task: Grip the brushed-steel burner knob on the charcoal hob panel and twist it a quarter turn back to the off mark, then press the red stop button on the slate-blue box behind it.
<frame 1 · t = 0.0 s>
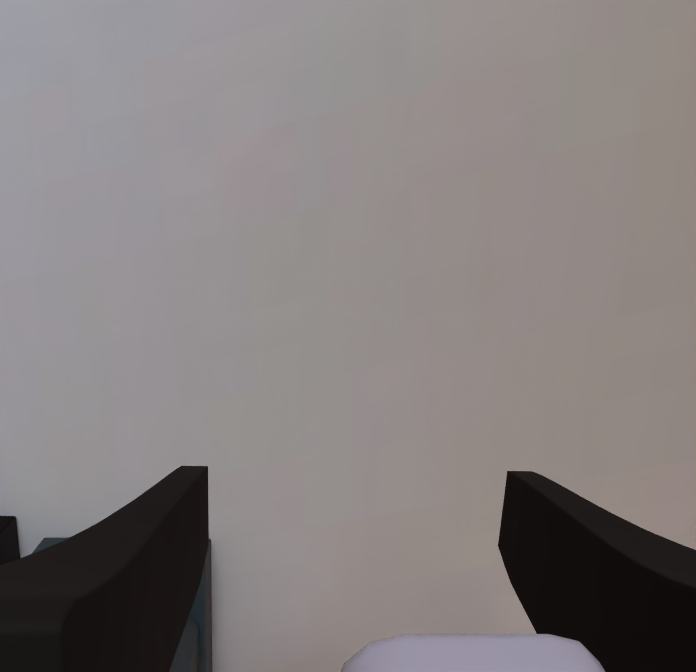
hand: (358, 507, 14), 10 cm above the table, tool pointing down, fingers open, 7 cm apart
button box: (133, 645, 26), on the table
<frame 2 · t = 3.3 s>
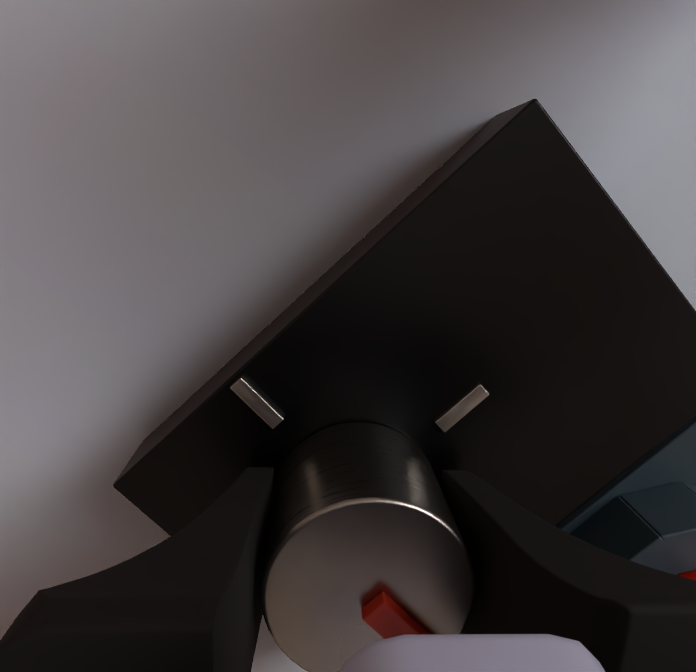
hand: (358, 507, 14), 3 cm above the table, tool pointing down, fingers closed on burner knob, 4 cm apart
burner knob: (362, 544, 12), point 5 cm above the table, hinge at -90.1°, touching gripper
hob panel: (413, 394, 16), on the table
button box: (592, 584, 18), on the table
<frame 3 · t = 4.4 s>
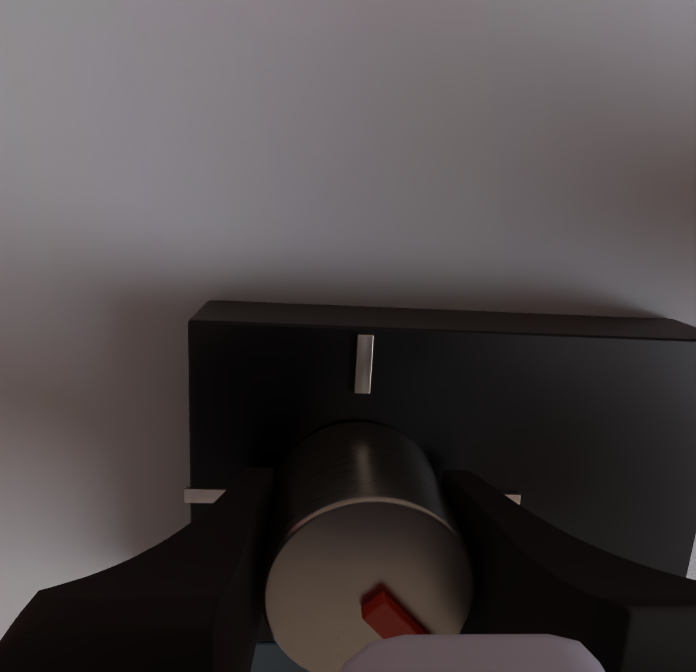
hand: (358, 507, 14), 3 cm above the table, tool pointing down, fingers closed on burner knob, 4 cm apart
burner knob: (362, 543, 12), point 5 cm above the table, hinge at -46.4°, touching gripper
hob panel: (433, 451, 17), on the table
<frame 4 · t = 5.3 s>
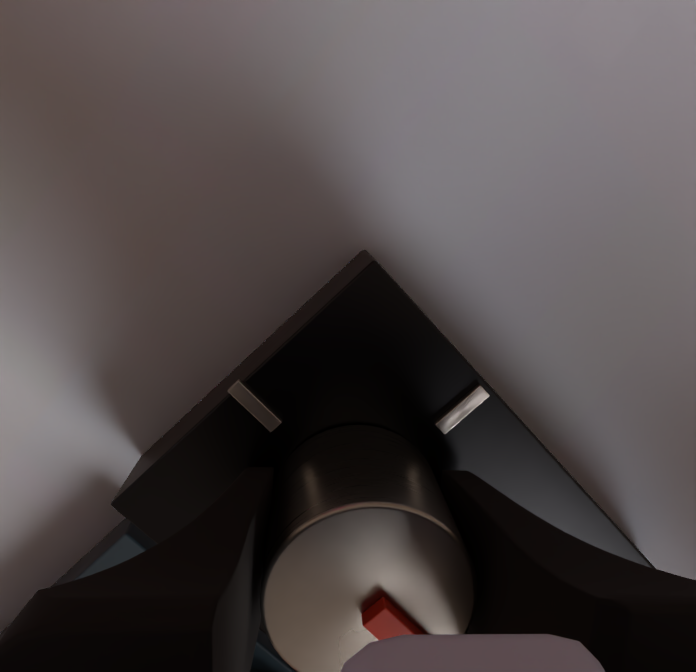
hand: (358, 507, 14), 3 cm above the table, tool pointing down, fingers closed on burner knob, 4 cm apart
burner knob: (362, 548, 12), point 5 cm above the table, hinge at -0.4°, touching gripper
hob panel: (405, 508, 17), on the table
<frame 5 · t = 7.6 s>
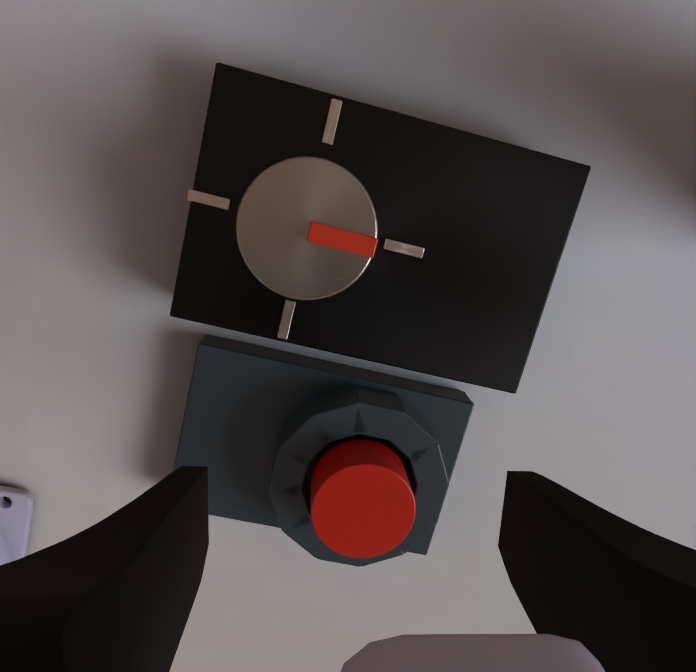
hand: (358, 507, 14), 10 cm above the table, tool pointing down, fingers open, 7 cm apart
stop button: (361, 497, 20), point 4 cm above the table, slide at 0.1 cm
burner knob: (307, 227, 18), point 5 cm above the table, hinge at -0.3°
hob panel: (371, 236, 22), on the table
button box: (319, 440, 24), on the table
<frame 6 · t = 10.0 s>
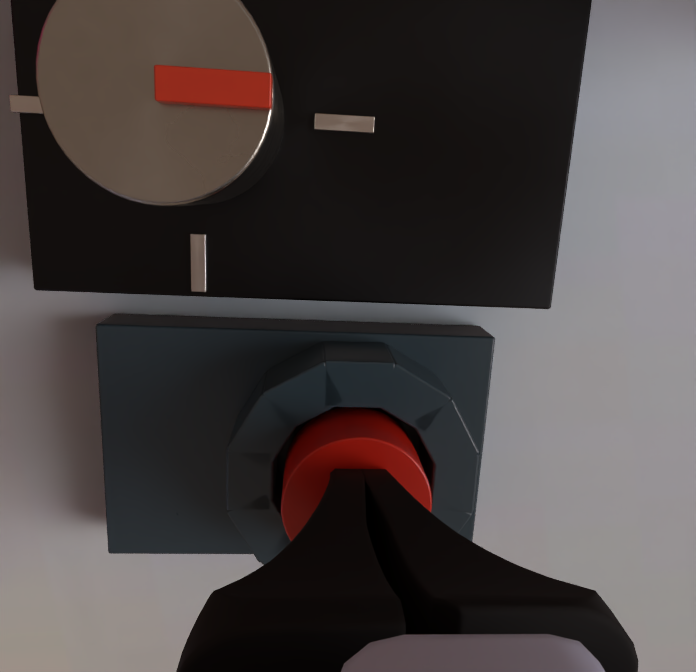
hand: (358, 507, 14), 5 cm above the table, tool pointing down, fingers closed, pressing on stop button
stop button: (354, 486, 14), point 4 cm above the table, slide at -0.3 cm, touching gripper
burner knob: (178, 101, 11), point 5 cm above the table, hinge at -0.3°
hob panel: (306, 133, 16), on the table
button box: (298, 428, 18), on the table
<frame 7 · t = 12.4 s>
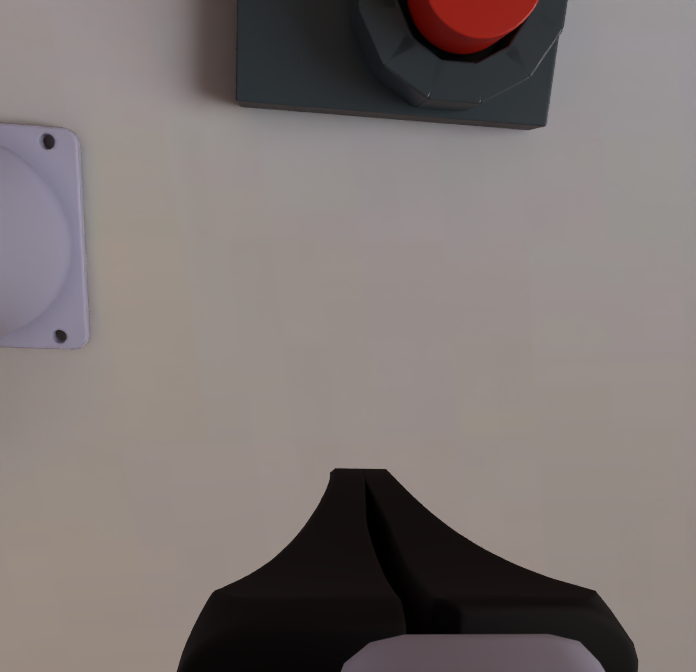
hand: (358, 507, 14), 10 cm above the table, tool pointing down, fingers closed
button box: (396, 15, 20), on the table
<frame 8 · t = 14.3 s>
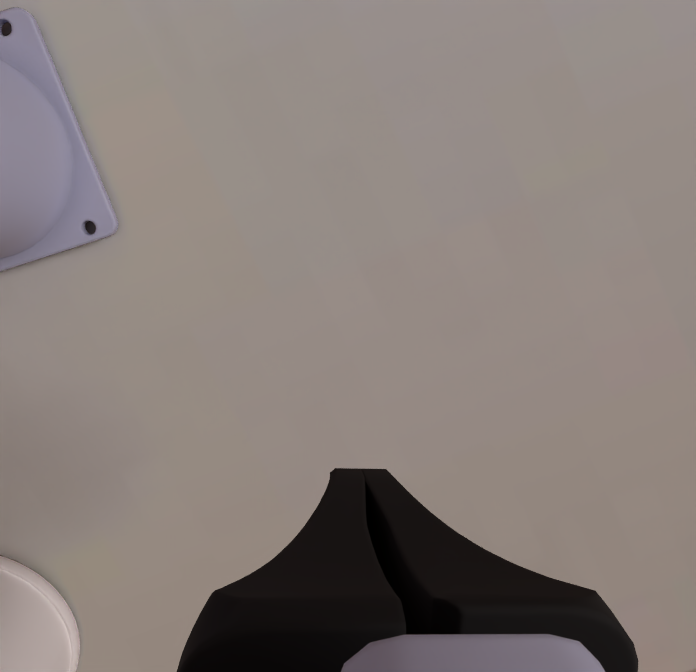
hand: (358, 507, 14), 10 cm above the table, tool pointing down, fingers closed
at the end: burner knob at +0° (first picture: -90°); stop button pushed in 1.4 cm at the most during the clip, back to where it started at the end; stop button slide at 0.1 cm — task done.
